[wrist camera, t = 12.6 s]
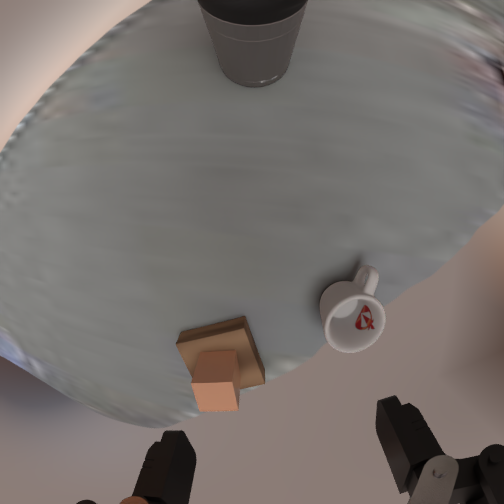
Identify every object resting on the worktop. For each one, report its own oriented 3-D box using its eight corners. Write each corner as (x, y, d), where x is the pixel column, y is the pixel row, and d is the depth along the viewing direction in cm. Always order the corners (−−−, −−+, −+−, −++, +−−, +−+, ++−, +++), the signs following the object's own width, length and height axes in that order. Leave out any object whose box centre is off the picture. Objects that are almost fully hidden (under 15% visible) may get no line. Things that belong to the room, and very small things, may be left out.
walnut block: (181, 330, 43) (175, 344, 39) (245, 314, 42) (243, 328, 38) (205, 380, 45) (202, 395, 42) (264, 368, 44) (265, 383, 41)
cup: (336, 246, 39) (354, 263, 31) (383, 266, 40) (407, 286, 32) (304, 315, 42) (313, 344, 34) (350, 330, 42) (366, 359, 34)
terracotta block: (200, 352, 39) (191, 383, 33) (236, 349, 39) (232, 381, 32) (207, 379, 41) (199, 411, 34) (240, 377, 40) (238, 410, 34)
